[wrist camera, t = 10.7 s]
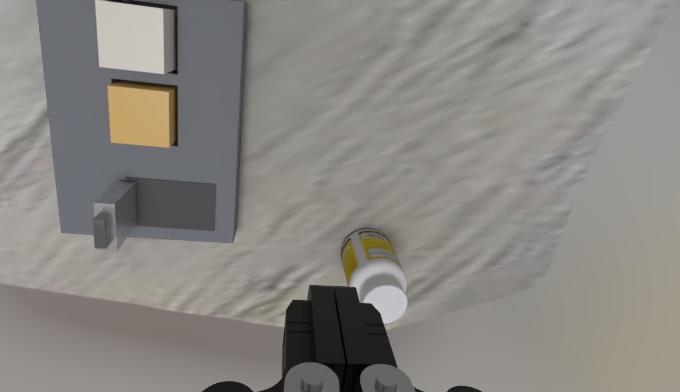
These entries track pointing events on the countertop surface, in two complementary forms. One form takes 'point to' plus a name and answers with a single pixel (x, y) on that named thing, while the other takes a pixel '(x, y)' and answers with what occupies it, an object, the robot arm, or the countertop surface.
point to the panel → (138, 160)
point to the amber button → (143, 113)
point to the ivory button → (136, 37)
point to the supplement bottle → (375, 273)
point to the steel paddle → (115, 216)
